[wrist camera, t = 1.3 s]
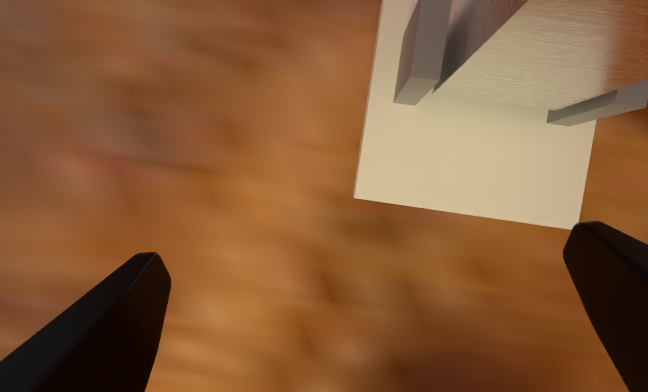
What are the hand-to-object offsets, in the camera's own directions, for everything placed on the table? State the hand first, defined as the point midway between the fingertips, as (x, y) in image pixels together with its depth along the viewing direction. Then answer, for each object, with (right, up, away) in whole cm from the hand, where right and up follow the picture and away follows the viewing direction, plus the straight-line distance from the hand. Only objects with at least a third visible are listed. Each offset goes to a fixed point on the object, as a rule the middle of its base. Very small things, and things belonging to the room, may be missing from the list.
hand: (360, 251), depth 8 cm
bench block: (+7, +6, +10) cm, 14 cm away
